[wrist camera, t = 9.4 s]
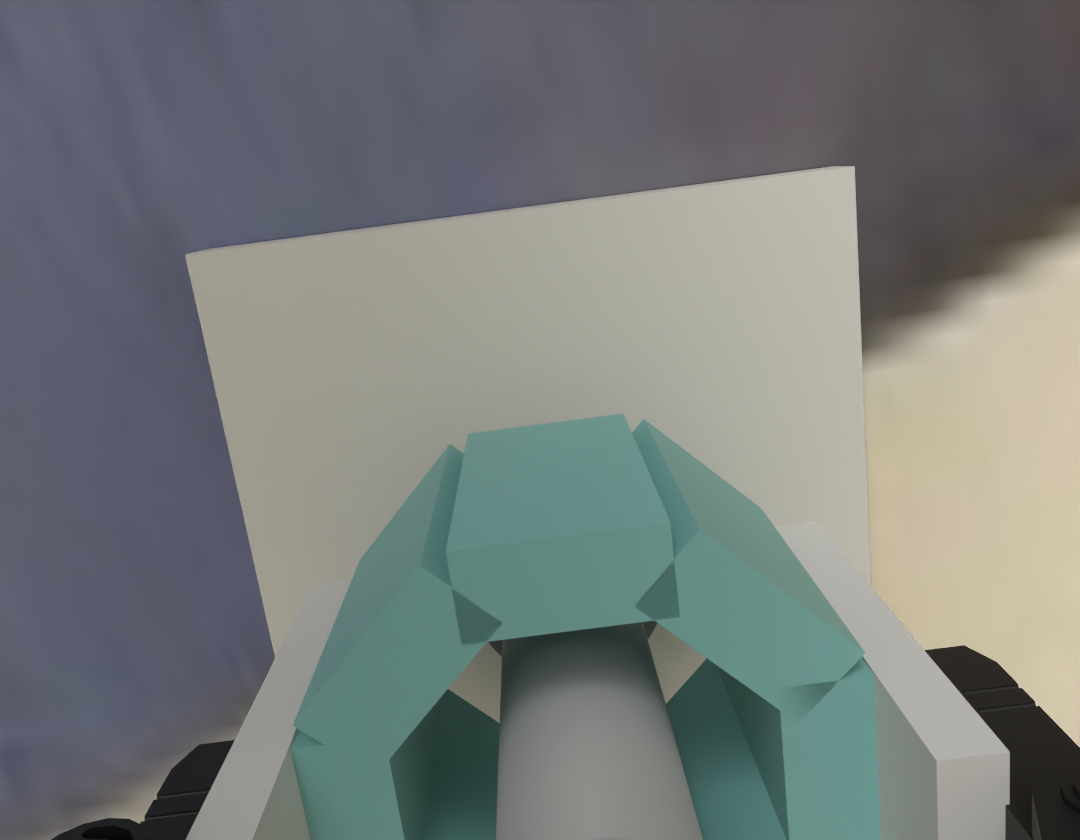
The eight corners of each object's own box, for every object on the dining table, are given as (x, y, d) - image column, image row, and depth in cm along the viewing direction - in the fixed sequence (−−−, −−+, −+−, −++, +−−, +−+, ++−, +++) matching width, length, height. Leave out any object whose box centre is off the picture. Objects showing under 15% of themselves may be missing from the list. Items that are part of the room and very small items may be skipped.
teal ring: (331, 451, 16) (247, 577, 11) (761, 395, 16) (869, 497, 11) (402, 818, 18) (358, 1066, 13) (787, 770, 17) (890, 1000, 13)
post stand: (206, 249, 18) (-276, 373, 7) (832, 166, 18) (1328, 162, 7) (340, 863, 22) (157, 1573, 11) (861, 798, 21) (1218, 1451, 11)
